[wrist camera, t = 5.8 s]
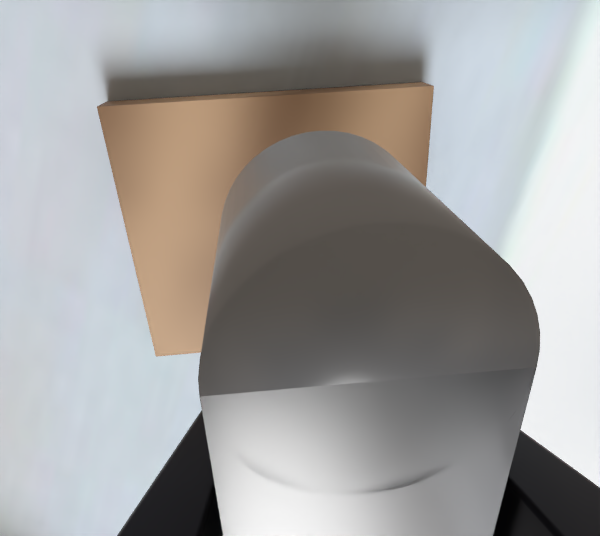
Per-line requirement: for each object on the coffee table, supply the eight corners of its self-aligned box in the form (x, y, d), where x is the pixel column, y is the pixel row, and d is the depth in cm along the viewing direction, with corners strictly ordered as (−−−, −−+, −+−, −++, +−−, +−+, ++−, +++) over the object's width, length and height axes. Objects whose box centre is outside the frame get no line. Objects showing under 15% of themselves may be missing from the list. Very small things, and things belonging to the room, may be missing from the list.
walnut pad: (422, 81, 17) (433, 85, 16) (406, 317, 21) (414, 332, 20) (107, 101, 16) (96, 107, 15) (160, 339, 21) (156, 356, 20)
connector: (428, 125, 8) (575, 210, 4) (387, 561, 13) (436, 754, 10) (208, 135, 8) (172, 236, 4) (260, 575, 13) (264, 778, 10)
